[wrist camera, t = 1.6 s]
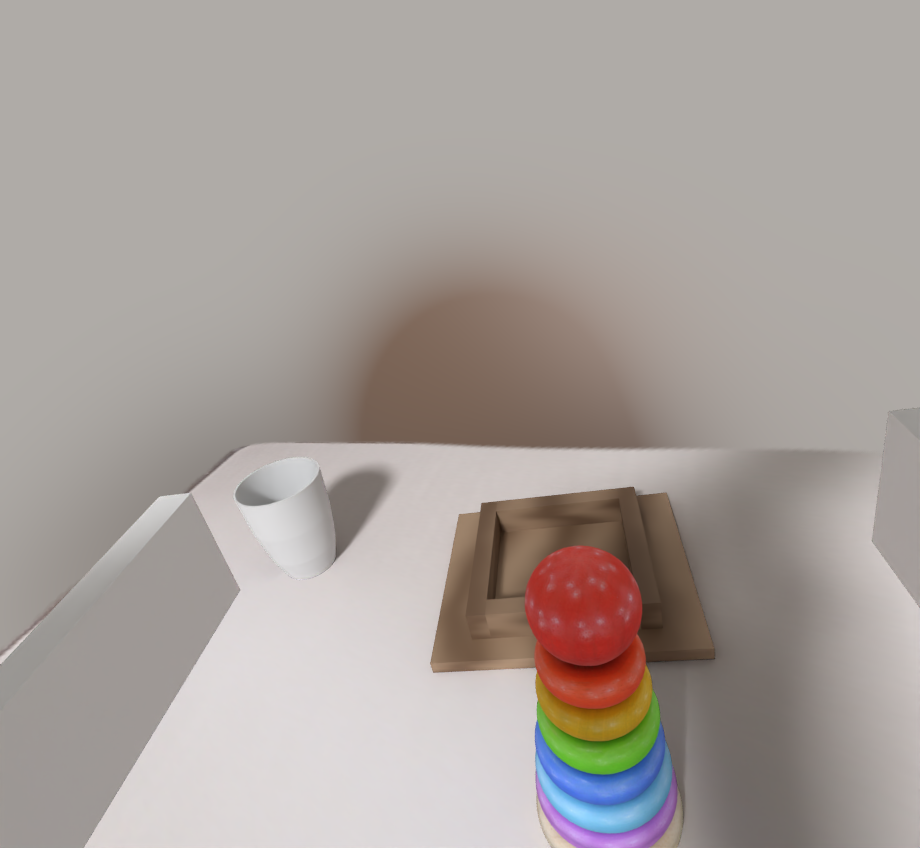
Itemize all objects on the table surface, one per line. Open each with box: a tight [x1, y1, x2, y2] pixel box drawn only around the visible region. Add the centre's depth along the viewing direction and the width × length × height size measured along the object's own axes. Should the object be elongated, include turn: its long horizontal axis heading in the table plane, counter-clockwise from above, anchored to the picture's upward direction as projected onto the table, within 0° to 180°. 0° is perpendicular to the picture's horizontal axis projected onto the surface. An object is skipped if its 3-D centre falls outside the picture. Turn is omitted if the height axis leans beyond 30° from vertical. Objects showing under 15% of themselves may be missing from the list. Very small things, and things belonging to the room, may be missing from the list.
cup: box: [233, 457, 336, 580], centre depth 58 cm, size 8×8×10 cm
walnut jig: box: [430, 487, 715, 673], centre depth 50 cm, size 20×18×4 cm
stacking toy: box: [525, 546, 683, 848], centre depth 30 cm, size 8×8×19 cm
